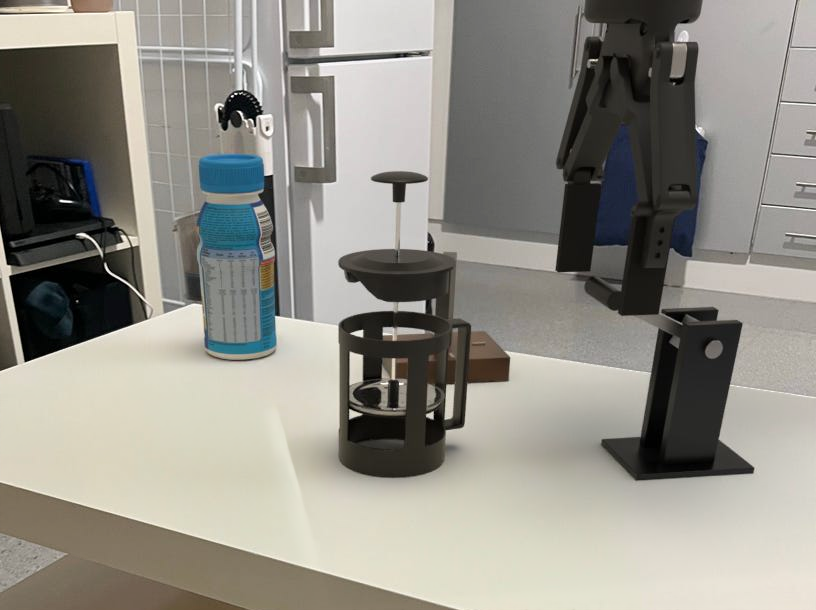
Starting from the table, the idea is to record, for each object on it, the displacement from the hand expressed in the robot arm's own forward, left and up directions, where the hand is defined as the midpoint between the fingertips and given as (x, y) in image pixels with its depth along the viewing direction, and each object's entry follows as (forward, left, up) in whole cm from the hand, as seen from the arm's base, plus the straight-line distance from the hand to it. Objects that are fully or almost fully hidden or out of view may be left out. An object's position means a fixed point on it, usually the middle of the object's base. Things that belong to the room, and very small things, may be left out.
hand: (602, 291), depth 77 cm
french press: (+15, -4, -15) cm, 21 cm away
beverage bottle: (+26, -40, -15) cm, 50 cm away
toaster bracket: (-8, 0, -15) cm, 17 cm away
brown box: (+5, -30, -15) cm, 34 cm away
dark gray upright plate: (+5, -30, -12) cm, 33 cm away
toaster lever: (-4, 0, -3) cm, 5 cm away
